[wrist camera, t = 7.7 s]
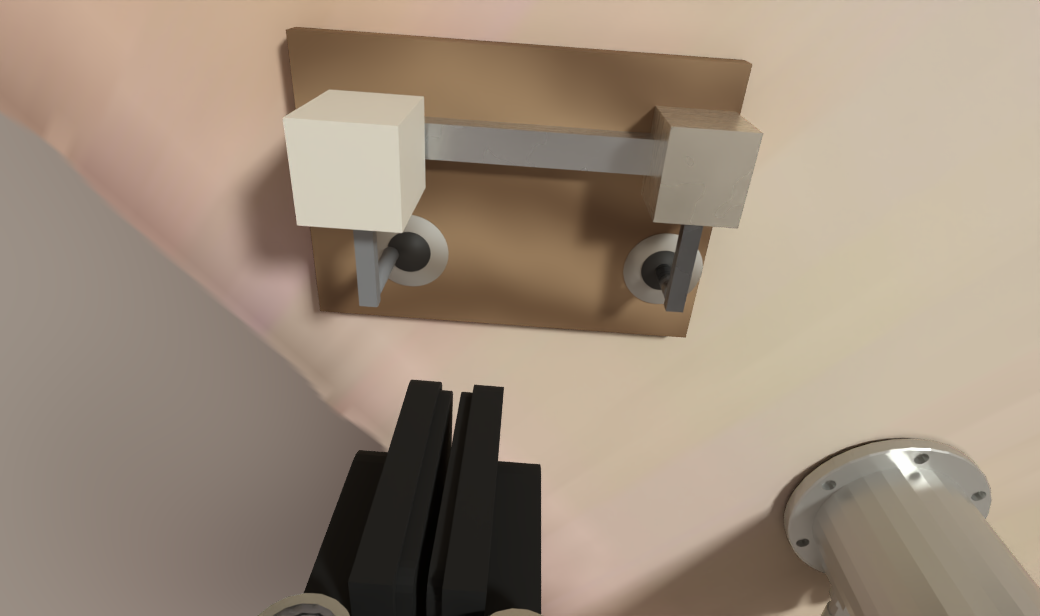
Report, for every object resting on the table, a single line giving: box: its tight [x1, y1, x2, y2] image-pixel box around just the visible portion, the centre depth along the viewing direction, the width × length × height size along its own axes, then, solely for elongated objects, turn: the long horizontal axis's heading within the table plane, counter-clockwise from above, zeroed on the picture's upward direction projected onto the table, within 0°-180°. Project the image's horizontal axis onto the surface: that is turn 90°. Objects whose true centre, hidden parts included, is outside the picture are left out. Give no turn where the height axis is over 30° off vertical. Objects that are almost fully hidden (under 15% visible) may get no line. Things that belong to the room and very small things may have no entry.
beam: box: [424, 106, 763, 313], centre depth 27 cm, size 8×19×4 cm, turn 86°
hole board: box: [286, 27, 752, 337], centre depth 29 cm, size 14×20×1 cm
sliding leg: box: [283, 89, 426, 307], centre depth 25 cm, size 8×4×6 cm, turn 176°
